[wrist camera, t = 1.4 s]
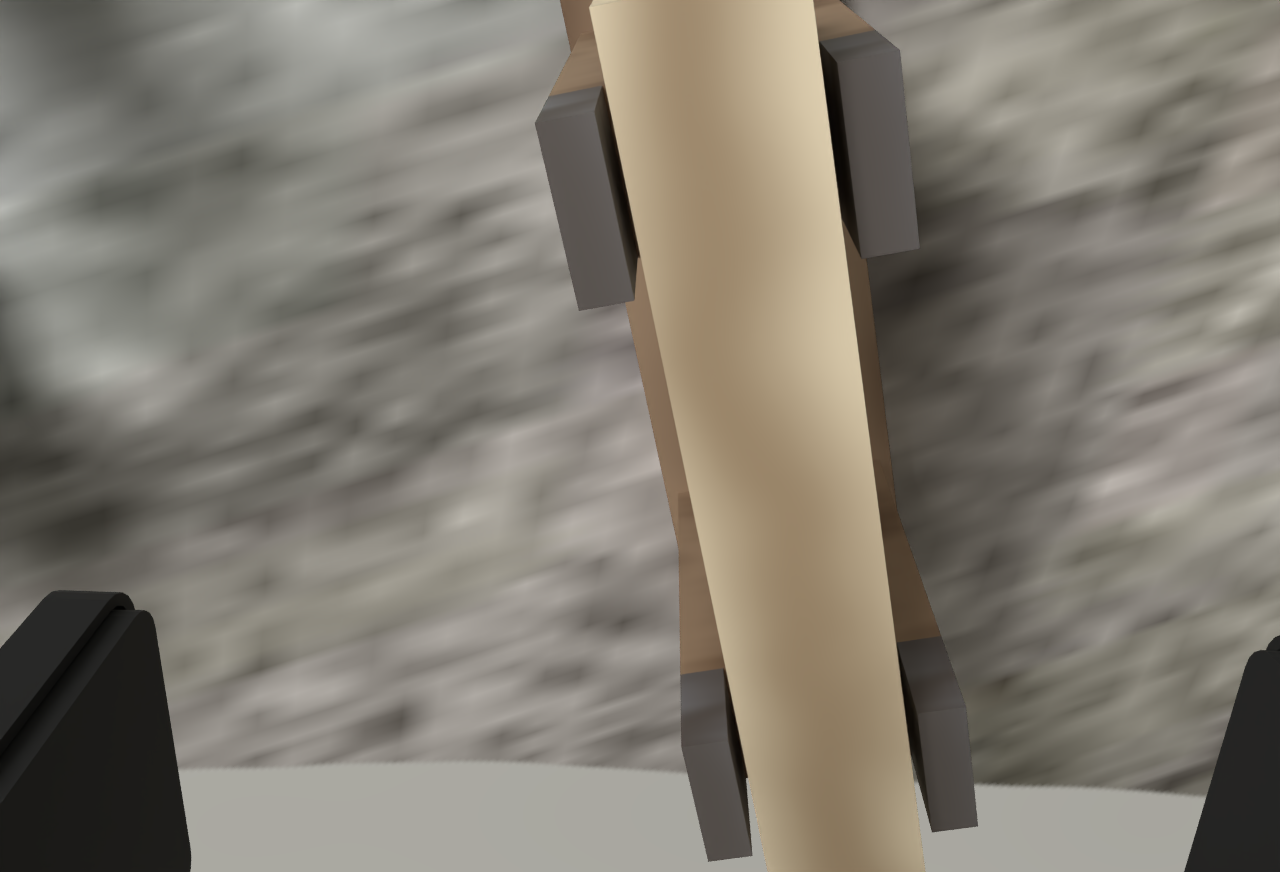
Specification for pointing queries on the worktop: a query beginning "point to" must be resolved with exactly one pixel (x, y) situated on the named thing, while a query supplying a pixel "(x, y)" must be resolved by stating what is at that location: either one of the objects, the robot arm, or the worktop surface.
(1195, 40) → the worktop surface
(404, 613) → the worktop surface
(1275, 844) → the robot arm
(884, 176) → the walnut rack
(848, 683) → the maple bar
